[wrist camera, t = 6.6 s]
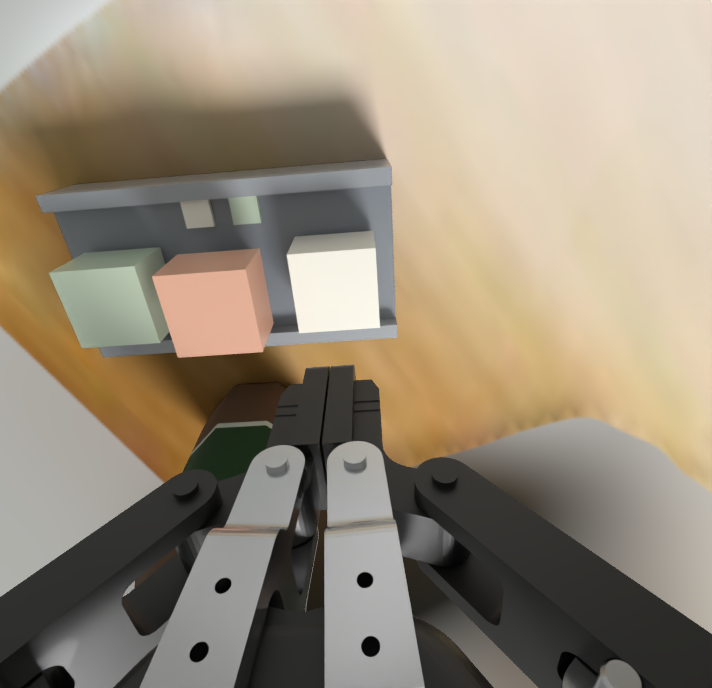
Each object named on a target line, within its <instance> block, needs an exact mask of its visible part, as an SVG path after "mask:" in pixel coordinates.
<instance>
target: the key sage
mask: <svg viewBox="0 0 712 688" xmlns="http://www.w3.org/2000/svg"><path fill="white" fill-rule="evenodd" d="M163 266H165V262H164V258H163V255H162V252H161V248H160V247H154V248H141V249H128V250H115V251H102V252H89V253H83V254H81V255H80V256H78V257H76V258H74V259H72V260H71V261H69V262H67V263H65V264H64V265H62V266H60V267H58V268H56V269H55V270H53V271H51V272H49V274H50V277H51V279H52V281H53V284H54V286H55V288H56V290H57V293H58V295H59V297H60V299H61V302H62V304H63V306H64V308H65V311H66V313H67V315H68V317H69V320H70V322H71V324H72V327H73V329H74V331H75V333H76V336H77V338H78V340H79V342H80V345H81V347H82V348H94V347H109V346H123V345H138V344H153V343H160V342H161V341H162V340H163V339H164V338H165V336H166V335H167V334H168V333H169V328H168V325H167V322H166V319H165V316H164V313H163V310H162V307H161V304H160V301H159V297H158V294H157V291H156V288H155V285H154V282H153V279H152V276H153V275H154V274H155V273H156V272H158V271H159V270H160V269H161V268H162V267H163Z"/></svg>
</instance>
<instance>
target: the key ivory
mask: <svg viewBox="0 0 712 688" xmlns="http://www.w3.org/2000/svg"><path fill="white" fill-rule="evenodd" d="M287 260H288V266H289V272H290V279H291V285H292V291H293V298H294V304H295V310H296V317H297V323H298V329H299V333H311V332H326V331H340V330H355V329H370V328H380V317H379V299H378V281H377V264H376V247H375V240H374V232H373V231H361V232H348V233H335V234H322V235H309V236H296V237H294V240H293V242H292V244H291V246H290V249H289V251H288V253H287Z"/></svg>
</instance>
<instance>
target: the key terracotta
mask: <svg viewBox="0 0 712 688" xmlns="http://www.w3.org/2000/svg"><path fill="white" fill-rule="evenodd" d="M152 279H153V282H154V285H155V288H156V291H157V294H158V297H159V301H160V304H161V307H162V310H163V313H164V316H165V319H166V322H167V325H168V328H169V332H170V335H171V338H172V341H173V344H174V347H175V350H176V353H177V356H178V358H182V357H197V356H211V355H226V354H241V353H256V352H263V350H264V348H265V345H266V342H267V340H268V337H269V334H270V332H271V329H272V326H273V324H274V322H273V317H272V312H271V306H270V301H269V296H268V291H267V285H266V280H265V275H264V269H263V264H262V259H261V253H260V248H257V249H244V250H231V251H217V252H204V253H191V254H178V255H176V256H175V257H174V258H173V259H172V260H170V261H169V262H168V263H167V264H166V265H165V266H163V267H162V268H161V269H160V270H159V271H158V272H156V273H155V274H154V275H153V276H152Z"/></svg>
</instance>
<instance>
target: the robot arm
mask: <svg viewBox="0 0 712 688" xmlns="http://www.w3.org/2000/svg"><path fill="white" fill-rule="evenodd" d="M320 510H327V512H328V526H327V527H325V536H324V537H325V539H324V542H325V543H324V546H325V549H324V553H325V554H324V557H325V560H324V561H325V563H324V564H325V567H324V568H325V570H324V571H325V572H324V573H325V606H324V607H321V608H317V609H314V610H311V611H308V612H306V602H307V597H308V591H309V586H310V580H311V575H312V569H313V564H314V558H315V552H316V547H317V542H318V521H319V511H320ZM174 548H176V550H177V552H178V553H177V554H176V555H175V556H173V557H172V558H171V559H170V560H168V561H167V562H166V563H165V564H164V565H162V566H161V567H160V568H159V569H158V570H156V571H155V572H154V573H153V574H152V575H150V576H149V577H148V578H147V579H146V580H144V581H143V582H142V583H141V584H140V585H138V586H137V587H136V588H135V589H133V590H132V591H131V592H130V593H129V594H127V595H126V596H124V597H123V594H124V592H125V590H126V589H127V588H128V586H130V585H131V584H132V582H134V581H135V580H136V579H137V578H139V577H140V576H141V575H142V574H144V573H145V572H146V571H147V570H148V569H150V568H151V567H152V566H153V565H155V564H156V563H157V562H158V561H159V560H161V559H162V558H163V557H164V556H166V555H167V554H168V553H169V552H171V551H172V550H173V549H174ZM402 556H404V557H408V558H412V559H415V560H417V563H418V565H419V567H420V569H421V570H422V571H423V572H424V573H425V574H426V575H427V576H428V577H429V578H430V579H431V580H432V581H433V582H434V583H435V584H436V585H437V586H438V587H439V588H440V589H441V590H442V591H443V592H444V593H445V594H446V595H447V596H448V597H449V598H450V599H451V600H452V601H453V602H454V603H455V604H456V605H457V606H458V607H459V608H460V609H461V610H462V611H463V612H464V613H465V614H466V615H467V616H468V617H469V618H470V619H471V620H472V621H473V622H474V623H475V624H476V625H477V626H478V627H479V628H480V629H481V630H482V631H483V632H484V633H485V634H486V635H487V636H488V637H489V638H490V639H491V640H492V641H493V642H494V643H495V644H496V645H497V646H498V647H499V648H500V649H501V650H502V651H503V652H504V653H505V654H506V655H507V656H508V657H509V658H510V659H511V660H512V661H513V662H514V663H515V664H516V665H517V666H518V667H519V668H520V669H521V670H522V671H523V672H524V673H525V674H526V675H527V676H528V677H529V678H530V679H531V680H532V681H533V682H534V683H535V684H536V685H537V686H538V687H539V688H712V634H711V633H709V632H708V631H706V630H705V629H704V628H702V627H700V626H699V625H698V624H696V623H695V622H693V621H692V620H690V619H689V618H687V617H686V616H685V615H683V614H682V613H680V612H679V611H677V610H676V609H674V608H673V607H671V606H670V605H668V604H667V603H666V602H664V601H663V600H661V599H660V598H658V597H657V596H656V595H654V594H653V593H651V592H650V591H648V590H647V589H645V588H644V587H642V586H641V585H640V584H638V583H637V582H635V581H634V580H632V579H631V578H629V577H628V576H626V575H625V574H624V573H622V572H620V571H619V570H617V569H616V568H615V567H613V566H612V565H610V564H609V563H607V562H606V561H604V560H603V559H602V558H600V557H599V556H597V555H596V554H594V553H593V552H592V551H590V550H589V549H587V548H586V547H584V546H583V545H581V544H580V543H578V542H577V541H575V540H574V539H573V538H571V537H570V536H568V535H567V534H565V533H564V532H562V531H561V530H560V529H558V528H556V527H555V526H554V525H552V524H551V523H549V522H548V521H546V520H545V519H543V518H542V517H541V516H539V515H538V514H536V513H535V512H533V511H532V510H530V509H529V508H528V507H526V506H524V505H523V504H522V503H520V502H519V501H517V500H516V499H514V498H513V497H512V496H510V495H508V494H507V493H506V492H504V491H503V490H501V489H500V488H498V487H497V486H496V485H494V484H493V483H491V482H490V481H488V480H487V479H485V478H484V477H482V476H481V475H480V474H478V473H477V472H475V471H474V470H472V469H471V468H469V467H468V466H466V465H465V464H463V463H461V462H460V461H457V460H455V459H450V458H442V457H440V458H433V459H430V460H427V461H425V462H423V463H422V464H421V465H420V466H419V467H418V468H417V469H415V468H411V467H406V466H402V465H400V464H397V463H396V462H394V461H392V460H391V459H390V458H389V457H388V456H387V455H386V454H385V452H384V450H383V444H382V428H381V413H380V398H379V388H378V387H377V386H376V385H375V383H374V382H373V381H372V380H356V376H355V367H354V365H343V366H331V369H330V367H313V368H306V370H305V375H304V380H303V384H293V385H290V386H289V387H288V388H287V389H286V390H285V391H284V392H283V393H282V394H281V396H280V400H279V404H278V408H277V411H276V415H275V418H274V422H273V426H272V429H271V433H270V436H269V440H268V444H267V447H266V449H265V450H264V451H262V452H260V453H259V454H258V455H257V456H256V457H255V458H254V459H253V460H252V462H251V464H250V466H249V469H248V471H247V472H245V473H242V474H240V475H237V476H234V477H231V478H227V479H224V480H221V481H216V478H215V476H214V475H213V474H212V473H211V472H209V471H206V470H201V469H195V470H189V471H185V472H183V473H180V474H178V475H176V476H174V477H173V478H171V479H170V480H168V481H167V482H165V483H164V484H163V485H161V486H160V487H159V488H157V489H155V490H154V491H152V492H151V493H150V494H148V495H147V496H145V497H144V498H142V499H141V500H140V501H138V502H137V503H135V504H134V505H133V506H131V507H130V508H128V509H127V510H125V511H124V512H122V513H121V514H119V515H118V516H117V517H115V518H114V519H112V520H111V521H109V522H108V523H107V524H105V525H104V526H102V527H101V528H99V529H98V530H96V531H95V532H93V533H92V534H91V535H89V536H88V537H86V538H85V539H83V540H82V541H80V542H79V543H78V544H76V545H75V546H73V547H72V548H71V549H69V550H67V551H66V552H65V553H63V554H62V555H60V556H59V557H57V558H56V559H55V560H53V561H52V562H50V563H49V564H47V565H46V566H44V567H43V568H42V569H40V570H39V571H37V572H36V573H34V574H33V575H31V576H30V577H28V578H27V579H26V580H24V581H23V582H21V583H20V584H18V585H17V586H16V587H14V588H13V589H11V590H10V591H9V592H7V593H6V594H4V595H3V596H1V597H0V688H493V687H492V685H491V684H490V683H489V682H488V681H487V680H486V678H485V677H484V676H483V675H482V674H481V673H480V671H479V670H478V669H477V668H476V667H475V666H474V664H473V663H472V662H471V661H470V660H469V659H468V658H467V656H466V655H465V654H464V653H463V652H462V651H461V649H460V648H459V647H458V646H457V645H456V644H455V643H454V642H453V641H452V640H451V639H450V638H449V637H447V636H446V635H445V634H444V633H443V632H441V631H440V630H438V629H437V628H435V627H434V626H433V625H431V624H429V623H427V622H425V621H423V620H421V619H419V618H416V617H414V616H412V611H411V605H410V599H409V594H408V588H407V582H406V576H405V571H404V565H403V559H402Z"/></svg>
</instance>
